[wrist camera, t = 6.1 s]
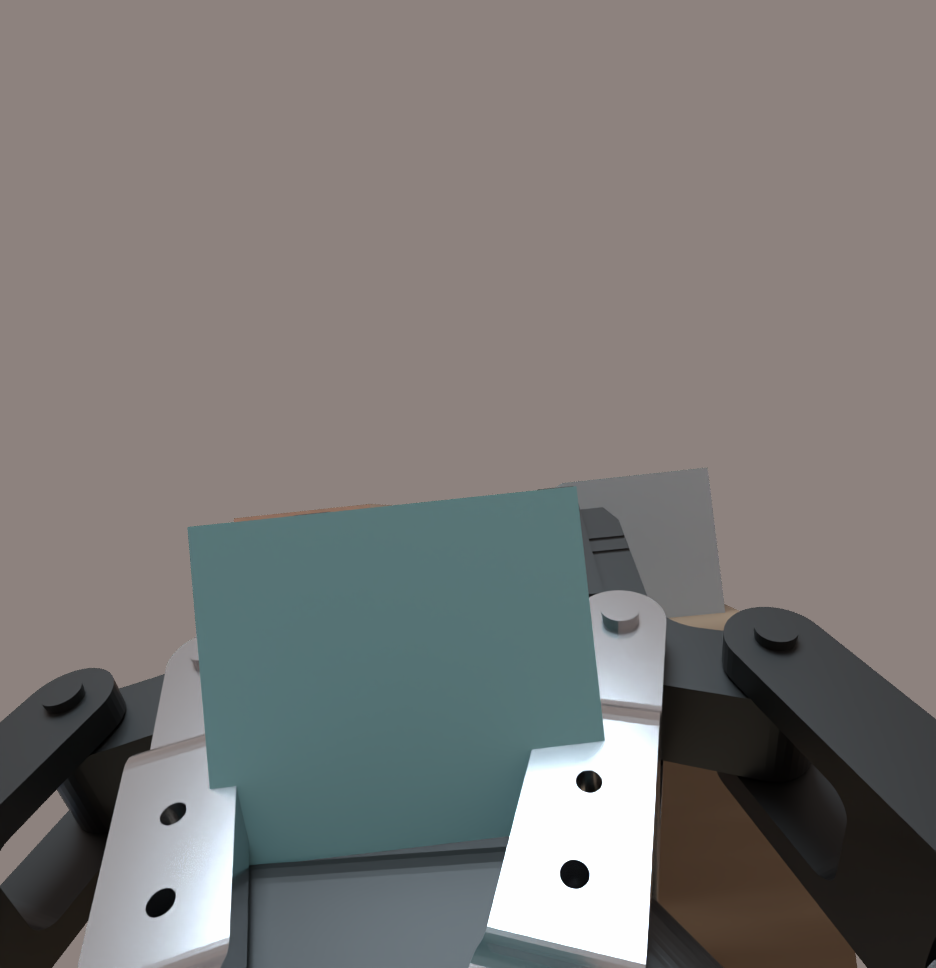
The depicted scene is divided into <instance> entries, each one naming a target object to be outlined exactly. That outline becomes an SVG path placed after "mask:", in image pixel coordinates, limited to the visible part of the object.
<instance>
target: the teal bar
mask: <svg viewBox="0 0 936 968" xmlns="http://www.w3.org/2000/svg"><path fill="white" fill-rule="evenodd" d="M188 539H189V550H190V562H191V574H192V585H193V598H194V609H195V621H196V633H197V645H198V656H199V668H200V680H201V692H202V704H203V715H204V727H205V739H206V751H207V762H208V774H209V786H210V789H217V788H225V787H233V786H236V787H237V792H238V796H239V800H240V805H241V809H242V814H243V818H244V822H245V827H246V831H247V835H248V840H249V865H257V864H268V863H282V862H296V861H306V860H314V859H322V858H330V857H339V856H347V855H355V854H364V853H372V852H380V851H389V850H397V849H405V848H414V847H422V846H430V845H439V844H447V843H455V842H464V841H472V840H480V839H489V838H497V837H505V836H510V835H511V831H512V827H513V823H514V819H515V815H516V811H517V807H518V803H519V799H520V795H521V791H522V787H523V783H524V779H525V775H526V771H527V767H528V763H529V759H530V755H531V751H532V750H534V749H542V748H550V747H558V746H567V745H575V744H583V743H591V742H599V741H605V736H604V727H603V718H602V709H601V700H600V691H599V683H598V674H597V665H596V656H595V647H594V638H593V629H592V620H591V611H590V602H589V593H588V584H587V575H586V567H585V558H584V549H583V540H582V531H581V522H580V513H579V504H578V495H577V486H573V487H564V488H554V489H545V490H536V491H526V492H516V493H507V494H497V495H488V496H478V497H469V498H460V499H451V500H441V501H431V502H421V503H413V504H403V505H393V506H383V507H374V508H364V509H355V510H345V511H336V512H326V513H317V514H307V515H298V516H288V517H279V518H269V519H260V520H250V521H241V522H231V523H222V524H212V525H203V526H194V527H188Z"/></svg>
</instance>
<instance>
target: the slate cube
mask: <svg viewBox="0 0 936 968" xmlns="http://www.w3.org/2000/svg"><path fill="white" fill-rule="evenodd" d="M566 486H577V495H578V503H579V507H580V509H589V508H599V507H603V508H605V509H606V510H607V511H608V512H610V513H611V514H612V515H613V516H615V517H616V518H617V519H619V522H620V525H621V527H622V530H623V533H624V536H625V538H626V541H627V543H628V546H629V550H630V551H631V554H632V557H633V559H634V562H635V564H636V567H637V570H638V572H639V575H640V578H641V580H642V583H643V586H644V588H645V591H646V594H647V596H648V597H649V598H651V599H653V600H654V601H655V602H657V603H658V604H659V605H660V606H661V607H662V609H663V610H664V612H665V615H666V617H667V618H672V617H683V616H693V615H704V614H715V613H725V607H724V599H723V591H722V582H721V574H720V566H719V558H718V550H717V542H716V534H715V525H714V517H713V509H712V500H711V493H710V484H709V476H708V468H700V469H690V470H681V471H671V472H663V473H653V474H643V475H634V476H626V477H617V478H606V479H597V480H588V481H578V482H569V483H562V484H561V485H559V486H557V487H566ZM557 487H555V488H557Z"/></svg>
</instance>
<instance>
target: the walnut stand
mask: <svg viewBox="0 0 936 968" xmlns="http://www.w3.org/2000/svg"><path fill="white" fill-rule="evenodd" d="M724 607H725V613H715V614H704V615H693V616H683V617H672V618H669V619H671V620H673V621H675V622H678V623H680V624H684V625H688V626H692V627H698V628H705V629H713V630H721V631H723V630H724V626H725V624H726V622H727V620H728V619H729V618H730V617H731V616H733V615H734V614H736V613H737V612H740V611H738V610H736V609H734V608H732V607H729V606H727V605H725V604H724ZM658 903H659V904H660V905H661V906H662V907H663V908H664V909H665V910H666V911H667V912H668V913H669V914H670V915H671V916H672V917H673V918H674V919H676V920H677V921H678V922H679V923H680V924H681V925H682V926H683V927H684V928H685V929H686V930H687V931H688V932H689V933H690V934H691V935H692V936H693V937H694V938H695V939H696V940H697V941H698V942H699V943H700V944H701V945H702V946H703V947H704V948H705V949H706V950H707V951H708V952H709V953H710V954H711V955H712V956H713V957H714V958H715V959H716V960H717V961H718V962H719V963H720V964H721V965H722V966H723V967H724V968H857V963H856V955H855V951H854V950H853V949H852V948H851V946H850V945H849V944H848V942H847V941H846V940H845V939H844V937H843V936H842V935H841V933H840V932H839V931H838V930H837V928H836V927H835V926H834V924H833V923H832V922H831V921H830V919H829V918H828V917H827V916H826V914H825V913H824V912H823V910H822V909H821V908H820V907H819V905H818V904H817V903H816V901H815V900H814V899H813V898H812V896H811V895H810V894H809V893H808V891H807V890H806V889H805V887H804V886H803V885H802V884H801V882H800V881H799V880H798V878H797V877H796V876H795V875H794V873H793V872H792V871H791V869H790V868H789V867H788V866H787V864H786V863H785V862H784V861H783V859H782V858H781V857H780V855H779V854H778V853H777V852H776V850H775V849H774V848H773V846H772V845H771V844H770V843H769V841H768V840H767V839H766V838H765V836H764V835H763V834H762V832H761V831H760V830H759V829H758V827H757V826H756V825H755V823H754V822H753V821H752V820H751V818H750V817H749V816H748V814H747V813H746V812H745V811H744V809H743V808H742V807H741V806H740V804H739V803H738V802H737V800H736V799H735V798H734V797H733V795H732V794H731V793H730V791H729V790H728V789H727V788H726V786H725V785H724V784H723V782H722V781H721V779H720V778H719V776H718V773H717V771H712V770H707V769H702V768H697V767H692V766H687V765H682V764H677V763H673V762H668V761H664V773H663V794H662V816H661V838H660V864H659V897H658Z"/></svg>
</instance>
